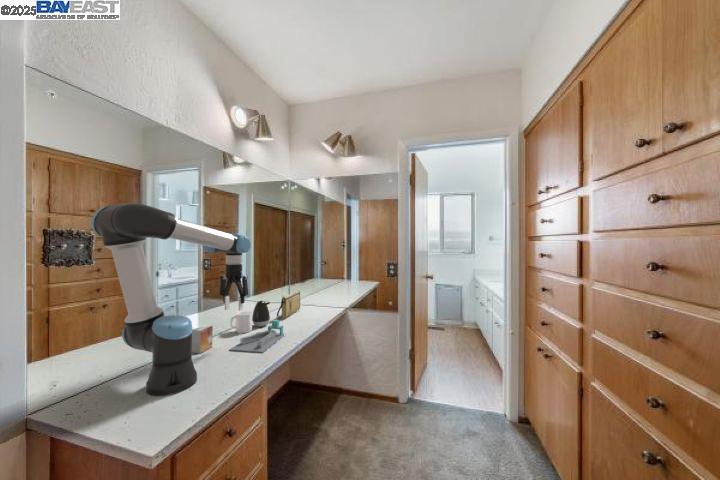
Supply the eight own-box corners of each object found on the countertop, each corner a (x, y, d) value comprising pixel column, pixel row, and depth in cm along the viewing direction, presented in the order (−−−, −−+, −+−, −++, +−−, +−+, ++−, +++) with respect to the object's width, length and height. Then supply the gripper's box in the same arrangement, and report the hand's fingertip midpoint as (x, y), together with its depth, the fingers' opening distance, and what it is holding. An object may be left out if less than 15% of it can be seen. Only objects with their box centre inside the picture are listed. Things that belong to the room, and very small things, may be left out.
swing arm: (267, 336, 150) (267, 330, 150) (269, 336, 149) (269, 331, 149) (240, 343, 139) (240, 337, 139) (242, 344, 137) (242, 338, 137)
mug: (226, 333, 157) (226, 315, 157) (233, 329, 165) (233, 311, 165) (248, 333, 157) (248, 315, 157) (254, 329, 165) (254, 311, 165)
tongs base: (272, 335, 151) (272, 330, 151) (277, 335, 151) (277, 330, 151) (254, 347, 134) (254, 341, 134) (261, 348, 133) (261, 341, 133)
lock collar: (269, 333, 155) (269, 319, 155) (283, 333, 154) (283, 320, 154) (267, 334, 153) (267, 320, 153) (281, 335, 152) (281, 321, 152)
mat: (263, 353, 129) (263, 351, 129) (229, 350, 131) (229, 349, 131) (286, 334, 154) (286, 333, 154) (257, 333, 157) (257, 332, 157)
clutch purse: (292, 309, 214) (292, 289, 214) (301, 310, 212) (301, 290, 213) (274, 320, 184) (274, 297, 184) (284, 320, 183) (284, 297, 183)
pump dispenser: (266, 328, 167) (266, 302, 167) (249, 328, 167) (249, 302, 167) (272, 323, 177) (272, 299, 177) (255, 323, 177) (256, 299, 177)
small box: (200, 353, 128) (200, 330, 128) (189, 352, 129) (189, 329, 129) (212, 347, 136) (213, 325, 136) (202, 346, 137) (202, 324, 137)
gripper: (256, 263, 144) (256, 308, 143) (221, 263, 147) (220, 307, 146) (248, 264, 136) (248, 312, 136) (211, 264, 139) (210, 310, 139)
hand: (233, 309), depth 141 cm, fingers open, 7 cm apart
